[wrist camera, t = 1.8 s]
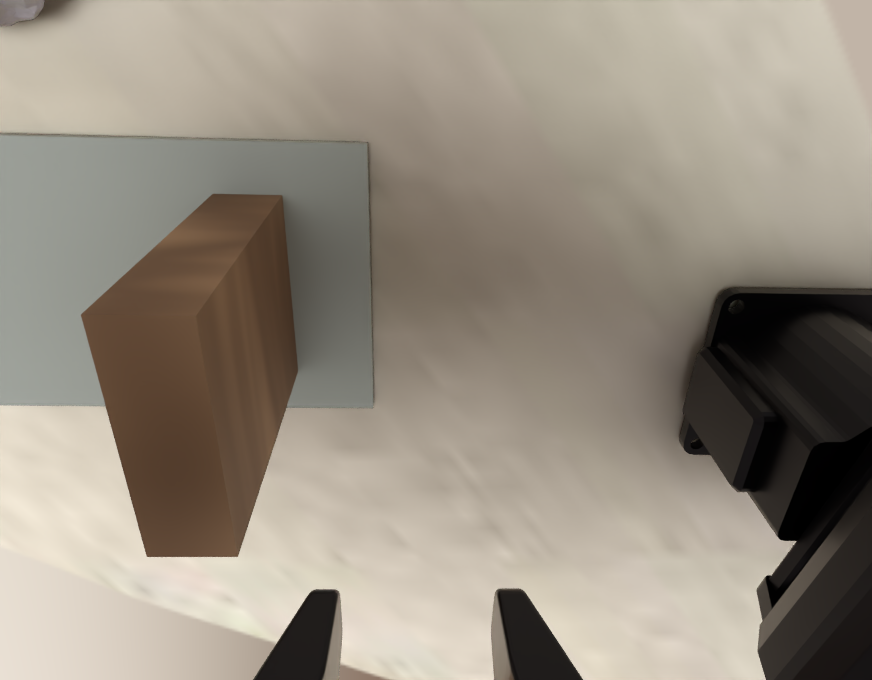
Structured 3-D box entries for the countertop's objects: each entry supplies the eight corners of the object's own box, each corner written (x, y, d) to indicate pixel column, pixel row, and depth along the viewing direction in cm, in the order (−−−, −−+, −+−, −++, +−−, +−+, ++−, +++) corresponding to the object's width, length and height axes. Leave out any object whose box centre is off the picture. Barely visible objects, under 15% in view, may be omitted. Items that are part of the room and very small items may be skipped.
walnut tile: (282, 195, 18) (195, 316, 11) (298, 370, 21) (237, 556, 14) (210, 193, 18) (76, 314, 11) (236, 370, 21) (143, 556, 14)
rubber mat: (367, 142, 18) (366, 144, 17) (373, 403, 22) (373, 407, 22) (-177, 129, 17) (-185, 130, 17) (-61, 399, 21) (-67, 404, 21)
